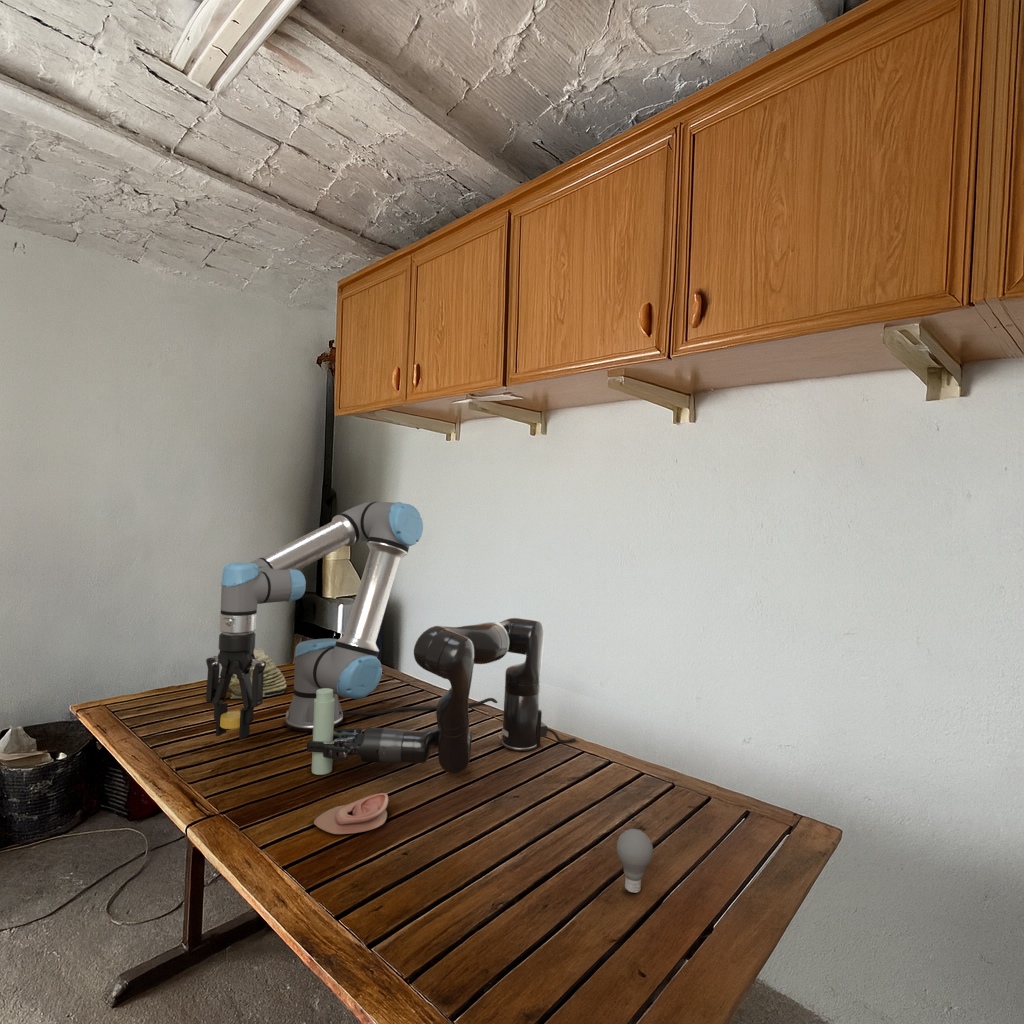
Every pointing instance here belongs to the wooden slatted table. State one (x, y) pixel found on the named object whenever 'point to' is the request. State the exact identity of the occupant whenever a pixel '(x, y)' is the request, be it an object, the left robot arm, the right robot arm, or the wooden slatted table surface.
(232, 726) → the lid
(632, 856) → the light bulb
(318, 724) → the pale green cylindrical bottle
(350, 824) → the anatomical model
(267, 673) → the fossil
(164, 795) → the wooden slatted table surface
